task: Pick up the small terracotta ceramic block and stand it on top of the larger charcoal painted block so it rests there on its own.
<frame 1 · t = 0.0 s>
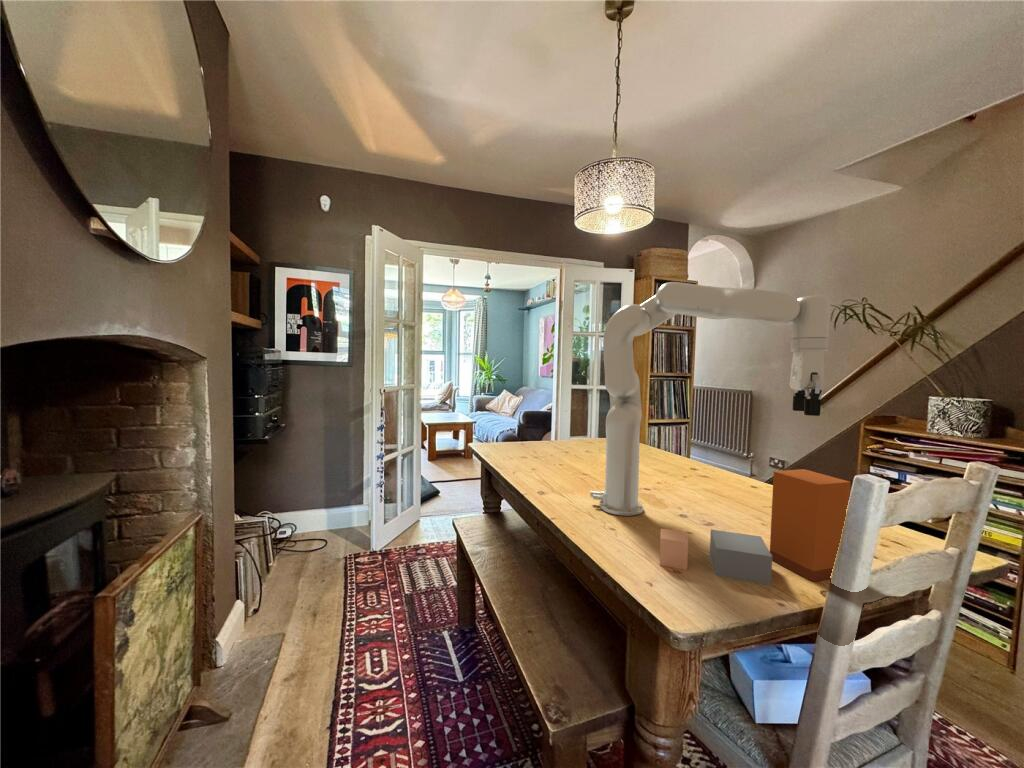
hand: (805, 413, 105), 31 cm above the table, tool pointing down, fingers open, 9 cm apart
terracotta block: (673, 561, 90), on the table
charcoal block: (738, 569, 88), on the table
tall orange brick: (806, 568, 88), on the table
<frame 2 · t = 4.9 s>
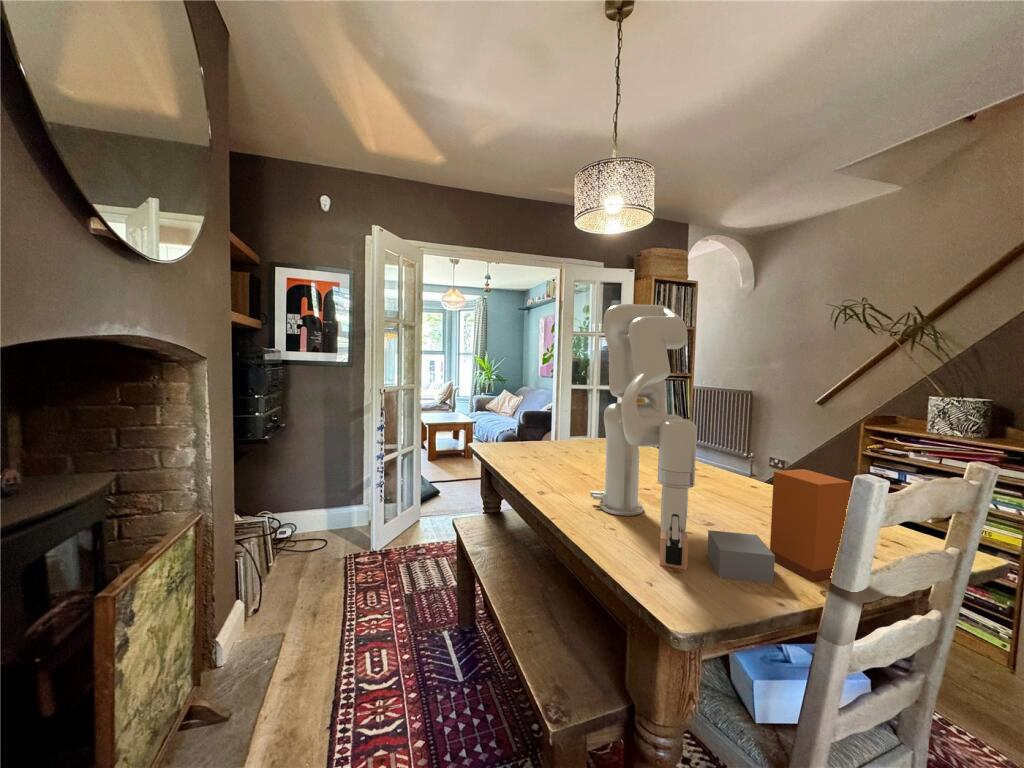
hand: (673, 556, 90), 1 cm above the table, tool pointing down, fingers closed on terracotta block, 5 cm apart
terracotta block: (673, 561, 90), on the table, touching gripper
everything else where it was.
when the fingers open (7 cm above the table, at t = 10.1 s): terracotta block stays where it is, resting on charcoal block.
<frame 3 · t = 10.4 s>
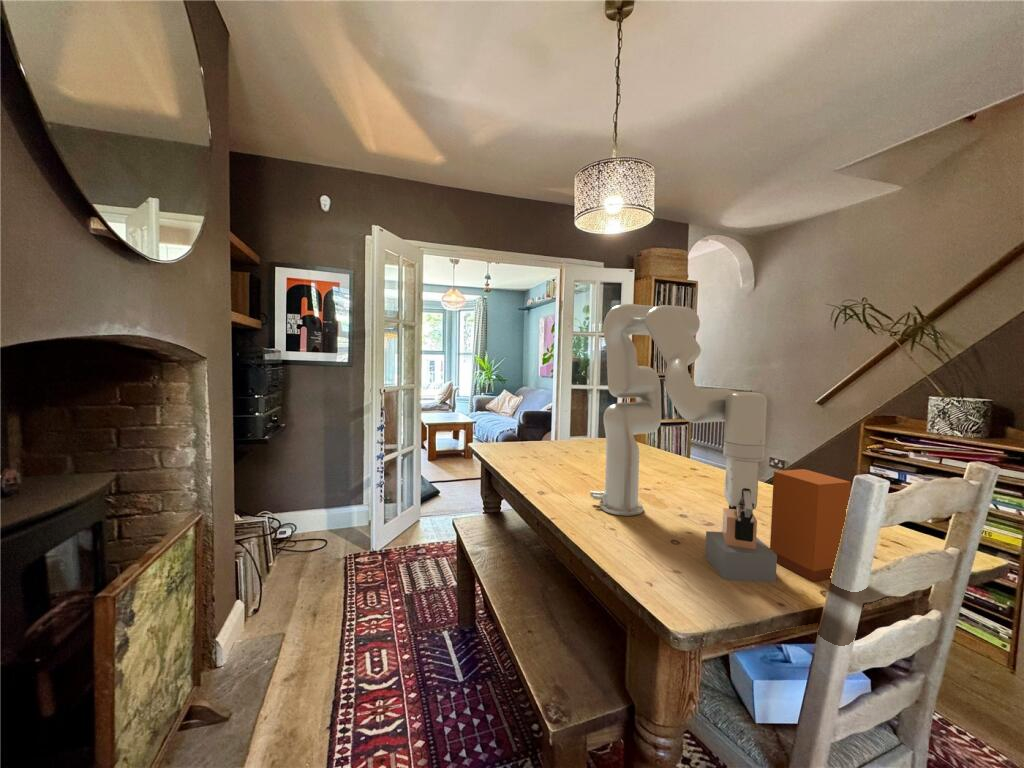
hand: (739, 531, 87), 8 cm above the table, tool pointing down, fingers open, 8 cm apart
terracotta block: (738, 541, 88), point 6 cm above the table, touching charcoal block
charcoal block: (738, 569, 88), on the table, touching terracotta block
everything else where it was.
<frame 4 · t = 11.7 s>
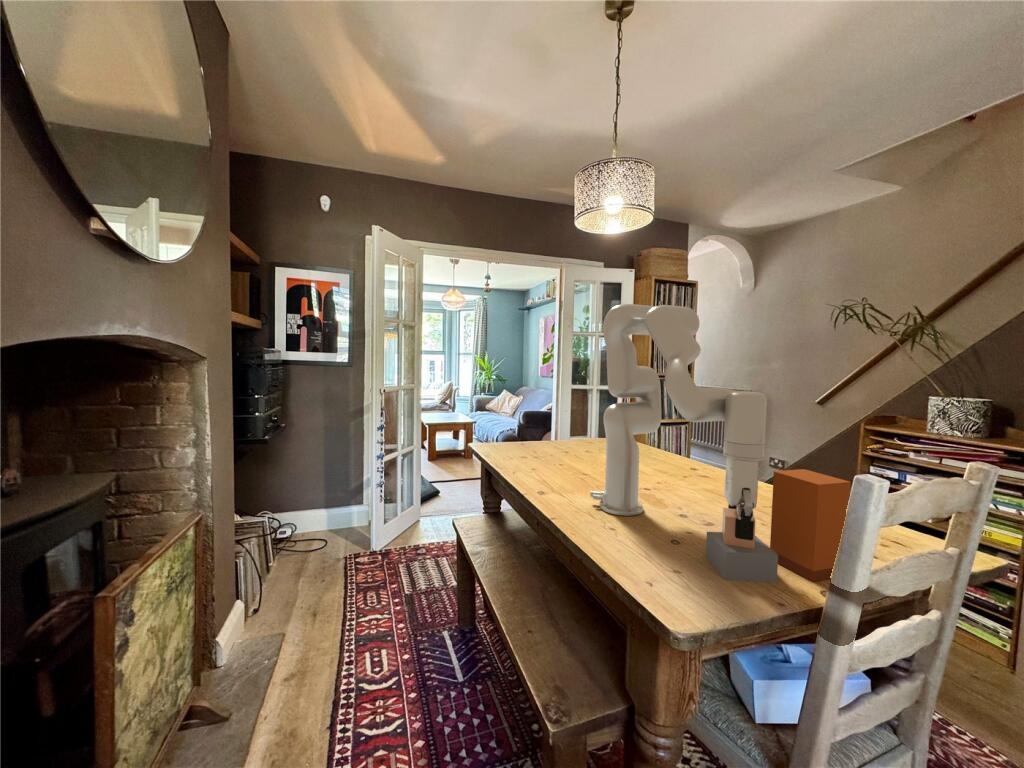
hand: (739, 529, 87), 8 cm above the table, tool pointing down, fingers open, 9 cm apart
terracotta block: (737, 541, 88), point 6 cm above the table
charcoal block: (739, 569, 88), on the table
everything else where it was.
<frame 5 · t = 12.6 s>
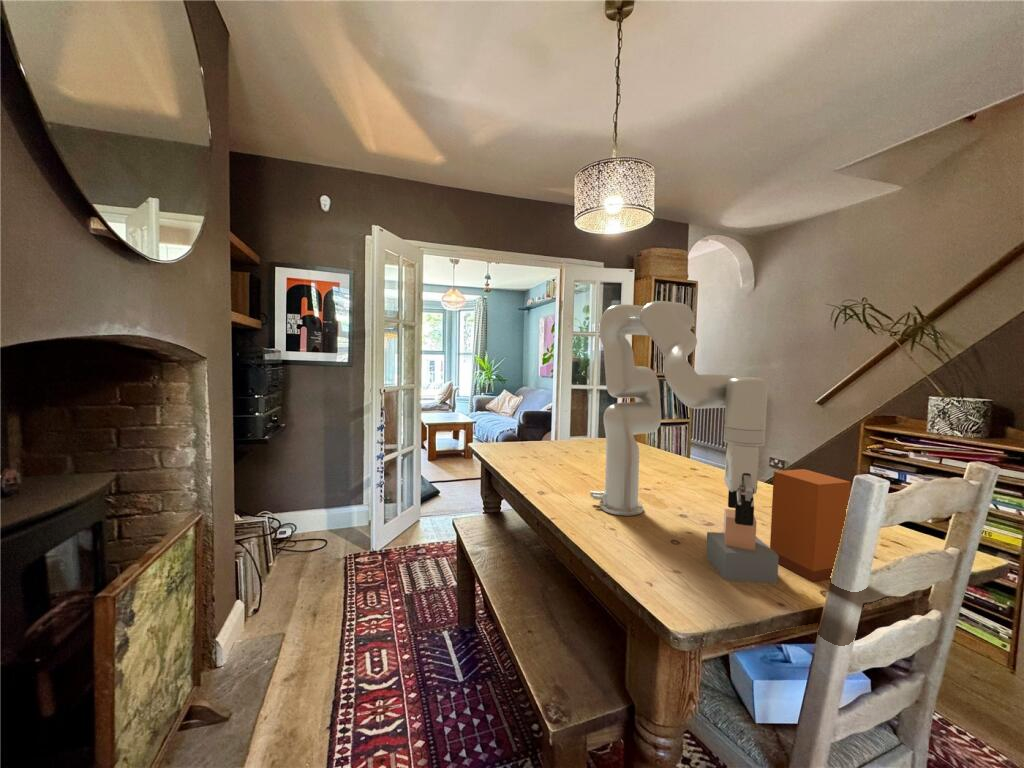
hand: (739, 515, 87), 11 cm above the table, tool pointing down, fingers open, 9 cm apart
terracotta block: (738, 542, 87), point 6 cm above the table, touching charcoal block
charcoal block: (739, 570, 87), on the table, touching terracotta block
everything else where it was.
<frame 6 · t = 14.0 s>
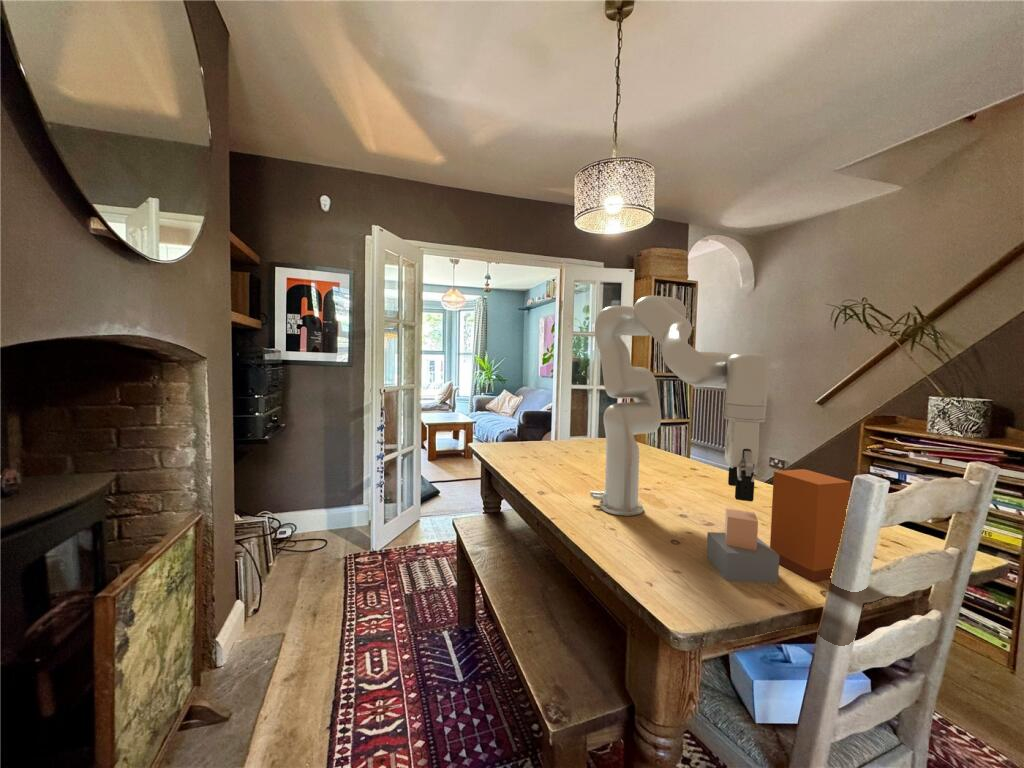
hand: (739, 492, 87), 16 cm above the table, tool pointing down, fingers open, 9 cm apart
nothing on the table moved.
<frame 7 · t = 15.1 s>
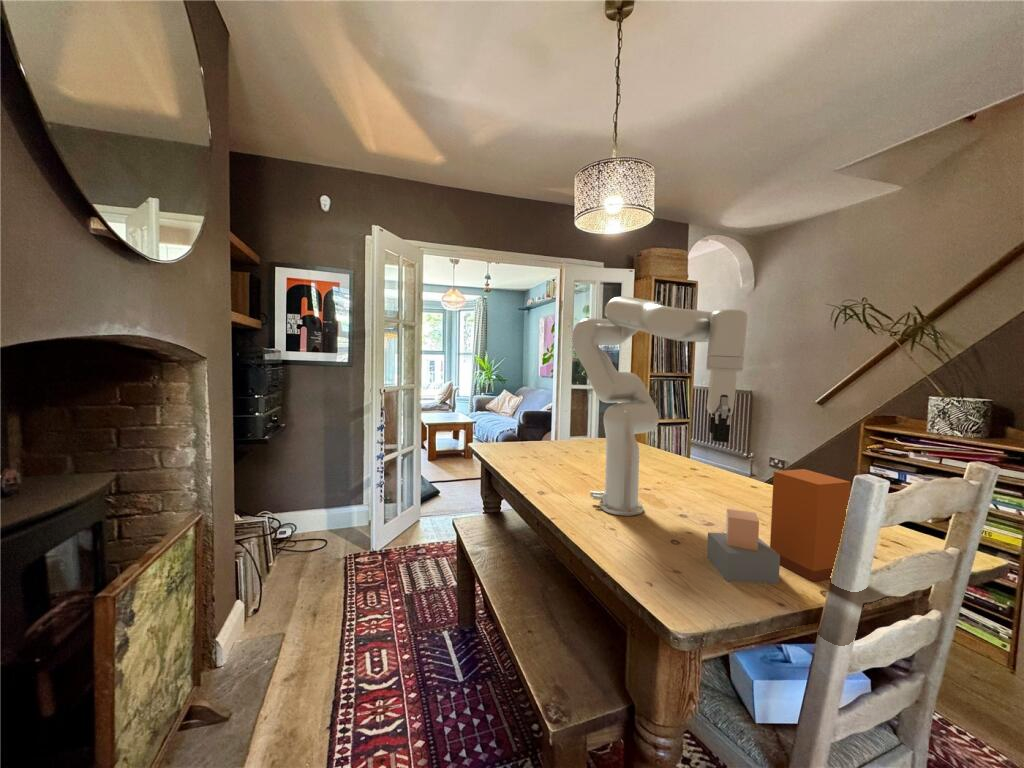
hand: (718, 437, 96), 26 cm above the table, tool pointing down, fingers open, 9 cm apart
terracotta block: (741, 542, 87), point 6 cm above the table
charcoal block: (740, 570, 87), on the table
everything else where it was.
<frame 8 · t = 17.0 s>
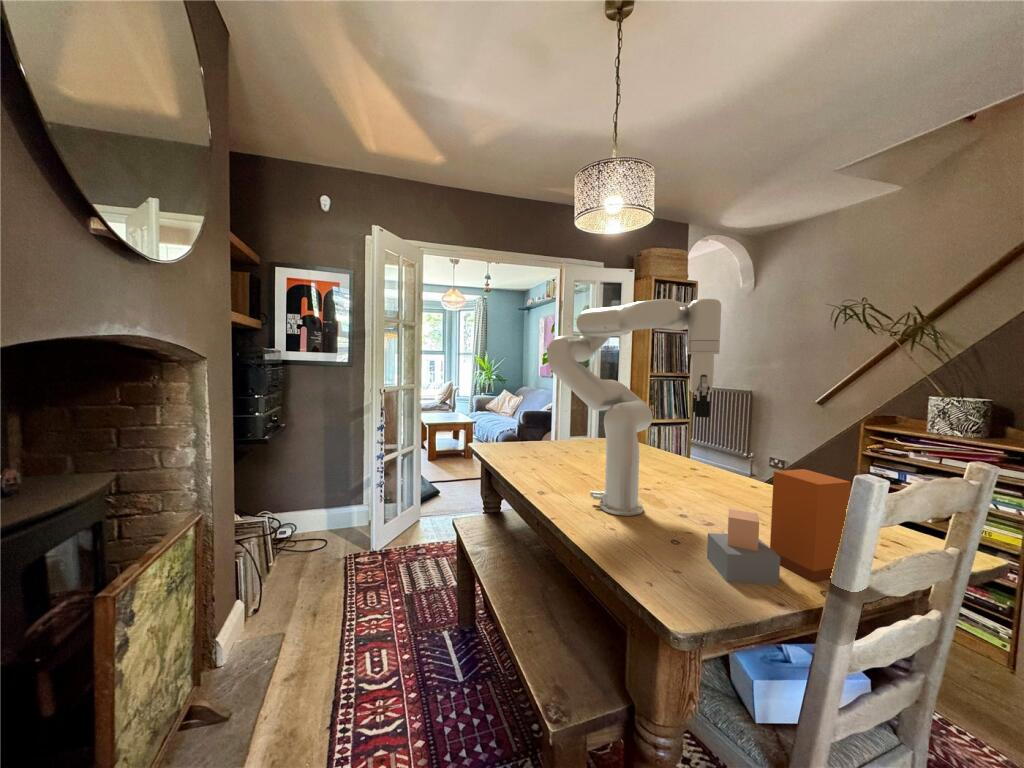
hand: (700, 414, 106), 30 cm above the table, tool pointing down, fingers open, 9 cm apart
terracotta block: (742, 542, 87), point 6 cm above the table, touching charcoal block
charcoal block: (740, 571, 87), on the table, touching terracotta block
everything else where it was.
at the end: terracotta block 0.6 cm off-centre on the charcoal block, point 6.0 cm above the charcoal block's base; terracotta block tilted 0°; the gripper is holding nothing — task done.
